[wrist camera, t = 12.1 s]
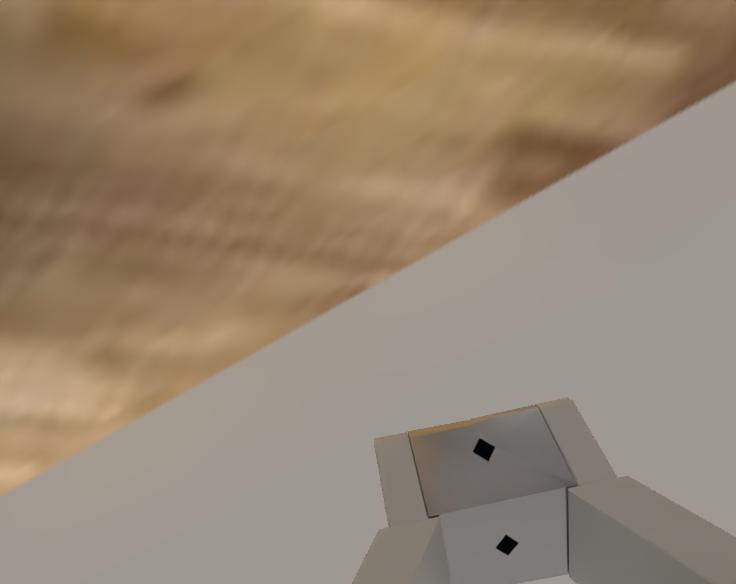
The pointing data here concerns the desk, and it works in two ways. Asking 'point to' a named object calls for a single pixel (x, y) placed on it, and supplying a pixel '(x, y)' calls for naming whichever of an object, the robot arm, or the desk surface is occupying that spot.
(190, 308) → the desk surface
